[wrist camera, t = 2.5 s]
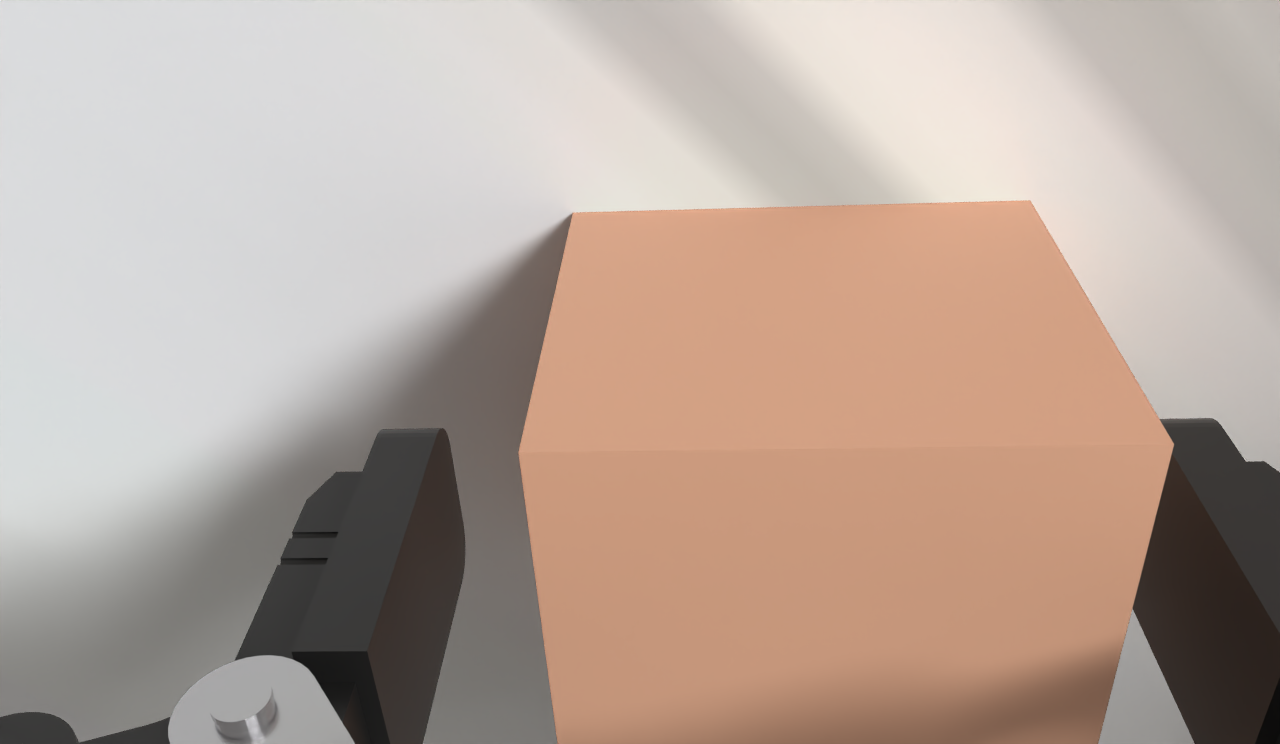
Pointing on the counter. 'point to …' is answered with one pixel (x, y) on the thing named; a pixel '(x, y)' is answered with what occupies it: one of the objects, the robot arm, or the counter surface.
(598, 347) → the terracotta block
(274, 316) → the counter surface
